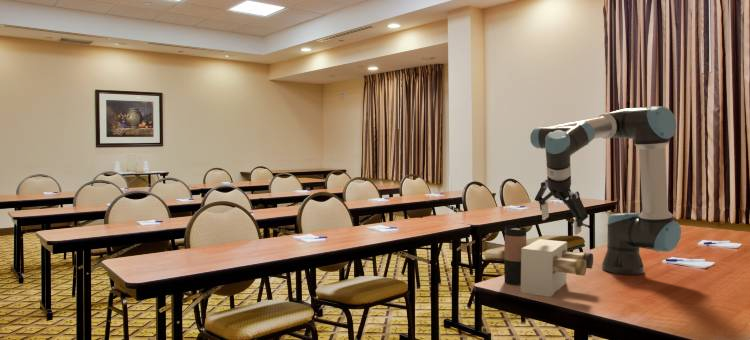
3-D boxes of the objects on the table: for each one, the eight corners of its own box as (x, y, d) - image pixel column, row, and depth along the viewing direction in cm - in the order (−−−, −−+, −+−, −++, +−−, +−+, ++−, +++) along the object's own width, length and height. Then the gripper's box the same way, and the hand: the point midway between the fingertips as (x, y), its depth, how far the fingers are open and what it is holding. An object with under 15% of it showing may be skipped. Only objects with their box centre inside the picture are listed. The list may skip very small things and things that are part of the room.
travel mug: (510, 286, 188) (511, 230, 187) (499, 280, 195) (500, 226, 194) (529, 284, 190) (530, 229, 189) (518, 279, 197) (519, 226, 196)
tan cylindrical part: (593, 267, 186) (593, 252, 186) (590, 270, 182) (590, 254, 181) (553, 262, 193) (554, 248, 193) (550, 265, 189) (550, 250, 189)
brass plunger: (586, 273, 176) (586, 258, 176) (582, 277, 171) (583, 261, 171) (544, 268, 183) (545, 253, 183) (540, 271, 179) (541, 256, 178)
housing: (566, 282, 193) (567, 241, 193) (550, 297, 175) (551, 251, 174) (538, 278, 199) (539, 239, 198) (520, 292, 180) (521, 248, 179)
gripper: (522, 169, 186) (526, 217, 197) (584, 192, 167) (585, 245, 178) (536, 159, 189) (539, 207, 200) (599, 182, 170) (599, 233, 181)
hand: (561, 225), depth 189 cm, fingers open, 13 cm apart
